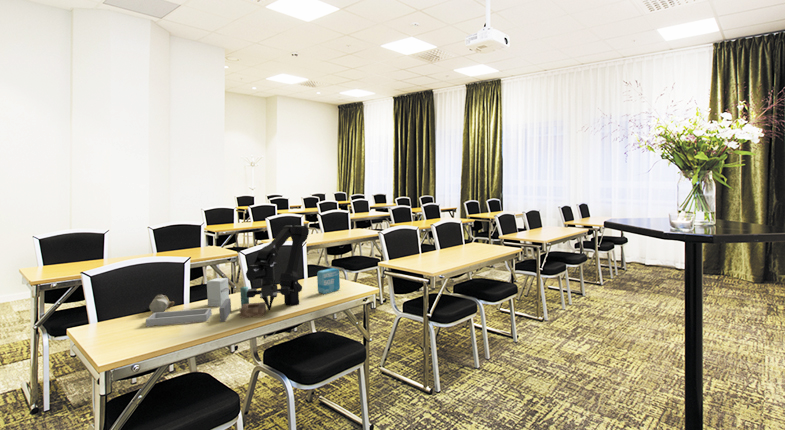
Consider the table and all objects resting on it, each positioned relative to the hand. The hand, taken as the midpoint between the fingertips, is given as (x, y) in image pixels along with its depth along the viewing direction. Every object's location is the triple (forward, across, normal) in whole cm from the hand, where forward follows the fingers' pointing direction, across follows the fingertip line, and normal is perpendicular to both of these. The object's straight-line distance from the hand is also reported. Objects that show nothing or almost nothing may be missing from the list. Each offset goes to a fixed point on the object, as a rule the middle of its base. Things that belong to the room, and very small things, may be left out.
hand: (269, 310), depth 192 cm
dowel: (+1, -12, +11) cm, 16 cm away
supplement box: (+1, -26, +22) cm, 34 cm away
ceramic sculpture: (+2, -52, +20) cm, 55 cm away
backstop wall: (+1, -19, 0) cm, 19 cm away
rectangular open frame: (+1, -38, 0) cm, 38 cm away
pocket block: (+2, -7, 0) cm, 7 cm away
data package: (+1, +29, +30) cm, 42 cm away
